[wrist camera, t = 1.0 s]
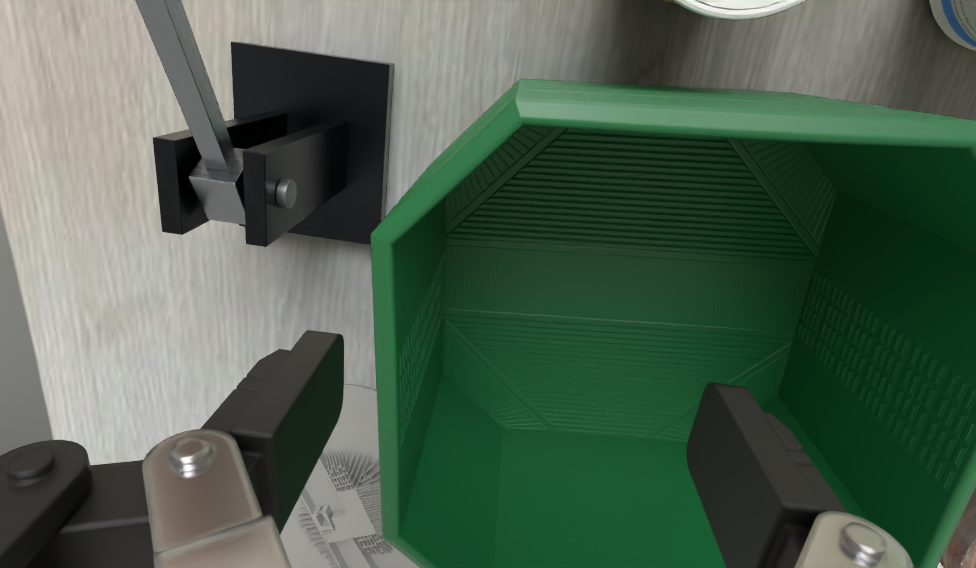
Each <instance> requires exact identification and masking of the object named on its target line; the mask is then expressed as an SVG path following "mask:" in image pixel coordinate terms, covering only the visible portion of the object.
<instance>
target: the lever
mask: <svg viewBox="0 0 976 568" xmlns="http://www.w3.org/2000/svg"><path fill="white" fill-rule="evenodd" d="M136 3H137V5H138V8H139V10H140V12H141V15H142V17H143V19H144V22H145V24H146V27H147V29H148V31H149V34H150V36H151V39H152V41H153V43H154V46H155V48H156V50H157V53H158V55H159V58H160V60H161V62H162V65H163V67H164V69H165V72H166V74H167V77H168V79H169V81H170V84H171V86H172V88H173V91H174V93H175V96H176V98H177V100H178V103H179V105H180V107H181V110H182V112H183V115H184V117H185V119H186V122H187V124H188V126H189V129H190V131H191V134H192V136H193V138H194V141H195V143H196V145H197V148H198V150H199V153H200V155H201V159H200V160H199V162H198V163H197V165H196V166H195V168H194V169H193V171H192V172H191V174H190V175H189V180H190V182H191V185H192V187H193V189H194V191H195V193H196V195H197V197H198V200H199V202H200V204H201V206H202V208H203V210H204V213H205V215H206V217H207V219H209V220H216V221H223V222H230V223H237V224H244V225H245V203H244V179H243V154H242V151H243V150H245V149H238V148H233V145H232V142H231V139H230V136H229V133H228V131H227V128H226V125H225V122H224V119H223V117H222V114H221V111H220V108H219V105H218V103H217V100H216V97H215V94H214V91H213V89H212V86H211V83H210V80H209V77H208V74H207V72H206V69H205V66H204V63H203V60H202V58H201V55H200V52H199V49H198V46H197V44H196V41H195V38H194V35H193V32H192V29H191V27H190V24H189V21H188V18H187V15H186V13H185V10H184V7H183V4H182V1H181V0H136Z"/></svg>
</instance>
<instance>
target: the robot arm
mask: <svg viewBox="0 0 976 568" xmlns="http://www.w3.org/2000/svg"><path fill="white" fill-rule="evenodd" d="M343 396H344V340H343V336H342V335H341V334H334V333H326V332H318V331H310V330H308V331H306V332H305V333H304V334H303V335H302V337H301V338H300V339H299V341H298V342H297V343H296V344H295V346H294V347H293V348H292V350H291V351H290V350H282V349H279V350H277V351H275V352H273V353H272V354H270V355H268V356H266V357H264V358H263V359H261V360H259V361H258V362H257V364H256V365H255V366H254V367H253V368H252V369H251V371H250V372H249V373H248V374H247V377H246V378H244V379H243V380H242V381H241V382H240V383H239V385H238V386H237V389H236V390H235V389H234V390H233V392H232V393H231V394H230V395H229V396H228V397H227V399H226V400H225V401H224V402H223V403H222V404H221V405H220V407H219V408H218V409H217V410H216V411H215V412H214V414H213V415H212V416H211V417H210V418H209V419H208V421H207V422H206V423H205V424H204V425H203V426H202V428H201V429H197V430H190V431H185V432H182V433H179V434H176V435H173V436H171V437H169V438H167V439H165V440H163V441H162V442H160V443H159V444H157V445H156V446H155V447H153V448H152V449H151V450H150V451H149V453H148V454H147V455H146V457H145V459H144V460H140V461H132V462H121V463H111V464H101V465H90V463H89V459H88V454H87V452H86V449H85V448H84V447H83V446H81V445H80V444H78V443H75V442H72V441H66V440H51V441H42V442H37V443H32V444H28V445H25V446H22V447H19V448H17V449H14V450H12V451H9V452H8V453H5V454H3V455H1V456H0V568H292V567H291V564H290V561H289V559H288V556H287V553H286V551H285V548H284V545H283V543H282V540H281V537H280V534H281V532H282V530H283V529H284V527H285V525H286V523H287V521H288V519H289V517H290V515H291V513H292V511H293V509H294V507H295V505H296V503H297V501H298V499H299V497H300V495H301V493H302V491H303V489H304V487H305V485H306V483H307V481H308V479H309V477H310V475H311V473H312V471H313V469H314V467H315V466H316V464H317V462H318V460H319V458H320V456H321V454H322V452H323V450H324V448H325V446H326V444H327V442H328V440H329V438H330V436H331V434H332V432H333V430H334V428H335V426H336V424H337V422H338V420H339V417H340V413H341V409H342V404H343ZM802 448H803V447H802V446H801V444H800V443H799V441H798V440H797V438H796V437H795V436H794V434H793V433H792V431H791V430H790V429H789V428H788V427H787V426H785V425H784V424H783V423H782V422H780V421H779V420H778V419H777V418H776V417H774V416H773V415H772V414H771V413H766V412H763V411H762V409H761V408H760V406H759V405H758V403H757V402H756V400H755V398H754V397H753V395H752V394H751V392H750V391H749V389H748V388H746V387H743V386H735V385H727V384H719V383H708V384H707V385H706V387H705V389H704V391H703V394H702V397H701V400H700V403H699V407H698V410H697V413H696V416H695V420H694V423H693V426H692V429H691V432H690V436H689V439H688V444H687V464H688V468H689V471H690V474H691V477H692V479H693V482H694V484H695V487H696V490H697V492H698V495H699V497H700V500H701V503H702V505H703V508H704V511H705V513H706V516H707V518H708V521H709V524H710V526H711V529H712V531H713V534H714V537H715V539H716V542H717V544H718V547H719V550H720V552H721V555H722V557H723V560H724V563H725V565H726V568H920V567H917V566H915V565H913V564H912V560H911V558H910V557H909V555H908V553H907V552H906V550H905V549H904V548H903V547H902V546H901V544H900V543H899V542H898V541H897V540H896V539H894V538H893V537H892V536H891V535H890V534H888V533H887V532H886V531H884V530H883V529H881V528H880V527H878V526H877V525H875V524H873V523H871V522H870V521H868V520H865V519H863V518H861V517H858V516H856V515H853V514H849V513H848V512H847V511H846V509H845V508H844V506H843V505H842V504H841V502H840V501H839V499H838V498H837V496H836V495H835V493H834V492H833V491H832V489H831V488H830V486H829V485H828V483H827V482H826V480H825V479H824V478H823V476H822V475H821V473H820V472H819V470H818V469H817V467H816V466H813V462H812V460H811V459H810V457H809V456H808V454H807V453H806V451H803V450H802Z"/></svg>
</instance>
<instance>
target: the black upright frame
mask: <svg viewBox="0 0 976 568" xmlns="http://www.w3.org/2000/svg"><path fill="white" fill-rule="evenodd" d="M231 55H232V77H233V99H234V119H233V120H229V121H224V122H225V125H226V128H227V131H228V133H229V136H230V139H231V142H232V145H233V148H238V149H245V150H243V151H242V154H243V179H244V203H245V225H244V224H239V225H240V226H245V228H246V244H250V245H257V246H264V247H267V246H268V245H269V244H271V243H272V242H273V241H275V240H276V239H277V238H279V237H280V236H282V235H283V234H284V233H286V232H287V233H294V234H301V235H308V236H315V237H322V238H329V239H336V240H343V241H349V242H356V243H363V244H370V245H371V233H372V232H373V231H374V230H375V229H376V228H377V227H378V225H379V224H380V223H381V222H382V220H383V219H384V218H385V206H386V189H387V172H388V156H389V139H390V122H391V106H392V89H393V73H394V64H392V63H385V62H378V61H370V60H363V59H356V58H349V57H342V56H335V55H328V54H321V53H314V52H307V51H300V50H293V49H286V48H279V47H272V46H265V45H258V44H251V43H244V42H231ZM153 145H154V155H155V165H156V175H157V184H158V194H159V204H160V214H161V224H162V231H163V232H167V233H174V234H181V235H183V234H185V233H187V232H189V231H191V230H192V229H194V228H196V227H198V226H200V225H202V224H204V223H206V222H208V221H209V219H207V217H206V215H205V213H204V210H203V208H202V206H201V204H200V202H199V200H198V197H197V195H196V193H195V191H194V189H193V187H192V185H191V182H190V180H189V175H190V174H191V172H192V171H193V169H194V168H195V166H196V165H197V163H198V162H199V160H200V159H201V155H200V153H199V150H198V148H197V145H196V143H195V141H194V138H193V136H192V134H191V131H190V129H189V130H184V131H180V132H176V133H171V134H167V135H162V136H158V137H154V138H153Z"/></svg>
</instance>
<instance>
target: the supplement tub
mask: <svg viewBox="0 0 976 568" xmlns="http://www.w3.org/2000/svg"><path fill="white" fill-rule="evenodd" d="M929 2H930V6H931V10H932V13H933V15H934V18H935V20H936V21H937V23H938V25H939V27H940V28H941V29H942V31H943V32H944V33H945V34H946V35H947V36H948V37H949V38H950V39H952V40H953V41H954V42H956V43H958V44H959V45H961V46H963V47H966V48H968V49H971V50H974V51H976V0H929Z"/></svg>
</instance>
